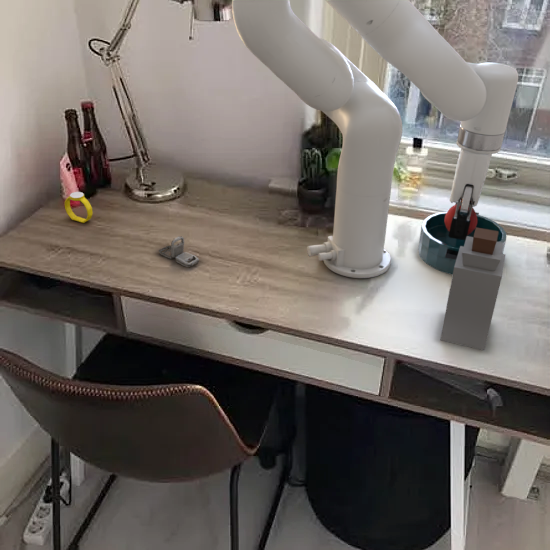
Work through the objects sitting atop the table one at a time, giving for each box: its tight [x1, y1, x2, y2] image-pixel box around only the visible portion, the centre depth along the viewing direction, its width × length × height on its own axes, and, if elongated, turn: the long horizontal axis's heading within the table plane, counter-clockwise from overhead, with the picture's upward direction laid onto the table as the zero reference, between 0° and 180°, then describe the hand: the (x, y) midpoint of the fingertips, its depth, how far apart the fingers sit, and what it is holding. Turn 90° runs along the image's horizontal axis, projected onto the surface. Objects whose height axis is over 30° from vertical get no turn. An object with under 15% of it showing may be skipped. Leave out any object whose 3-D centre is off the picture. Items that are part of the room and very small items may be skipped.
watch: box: [64, 191, 94, 224], centre depth 132 cm, size 6×3×6 cm, turn 66°
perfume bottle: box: [439, 227, 506, 351], centre depth 99 cm, size 7×7×18 cm
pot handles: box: [445, 211, 480, 260], centre depth 122 cm, size 19×4×1 cm, turn 160°
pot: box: [417, 210, 508, 276], centre depth 123 cm, size 15×15×6 cm
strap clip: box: [158, 235, 200, 268], centre depth 121 cm, size 8×3×4 cm, turn 50°
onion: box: [444, 199, 477, 235], centre depth 120 cm, size 6×6×8 cm
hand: (458, 229), depth 121 cm, fingers closed on onion, 5 cm apart
